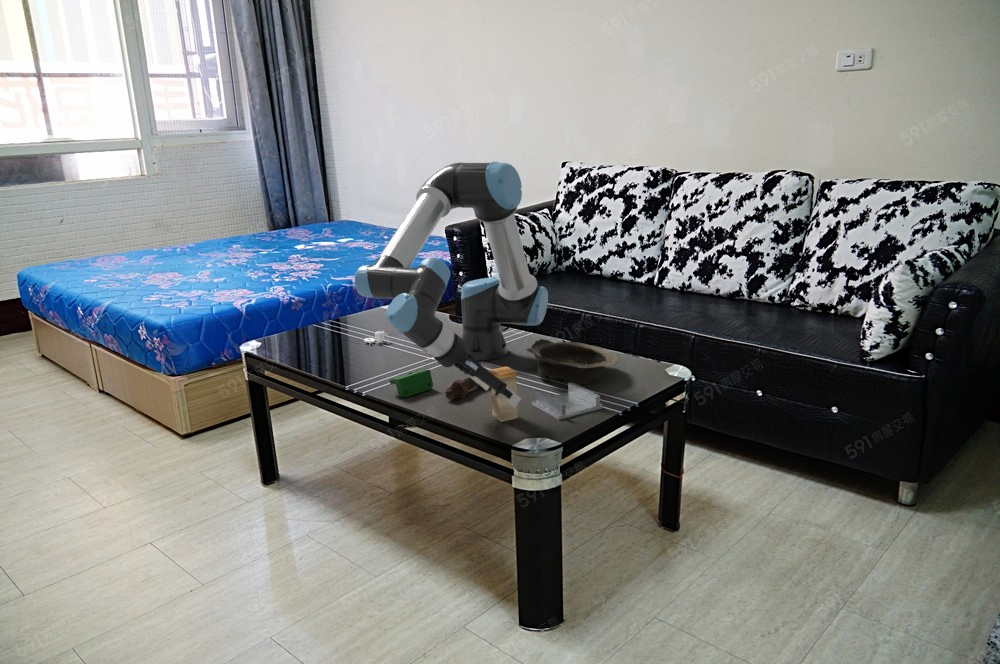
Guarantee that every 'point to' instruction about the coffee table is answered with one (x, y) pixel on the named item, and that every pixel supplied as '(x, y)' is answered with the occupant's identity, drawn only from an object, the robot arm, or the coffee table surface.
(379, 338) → the teacup and saucer
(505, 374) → the block
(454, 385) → the bolt
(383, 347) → the coffee table surface
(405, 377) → the green notched mounting bracket
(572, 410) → the keeper bracket
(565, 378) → the stone bowl
